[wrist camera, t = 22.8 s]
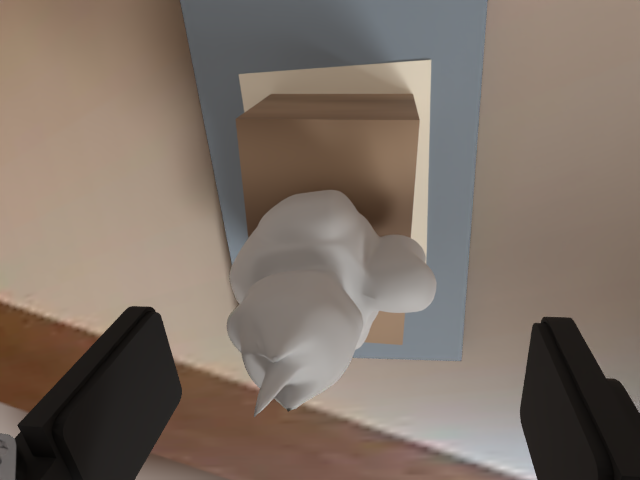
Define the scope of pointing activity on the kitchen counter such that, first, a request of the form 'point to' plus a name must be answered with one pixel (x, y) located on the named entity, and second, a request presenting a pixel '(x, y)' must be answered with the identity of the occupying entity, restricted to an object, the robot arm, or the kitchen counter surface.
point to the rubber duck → (317, 293)
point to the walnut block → (335, 162)
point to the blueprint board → (358, 78)
